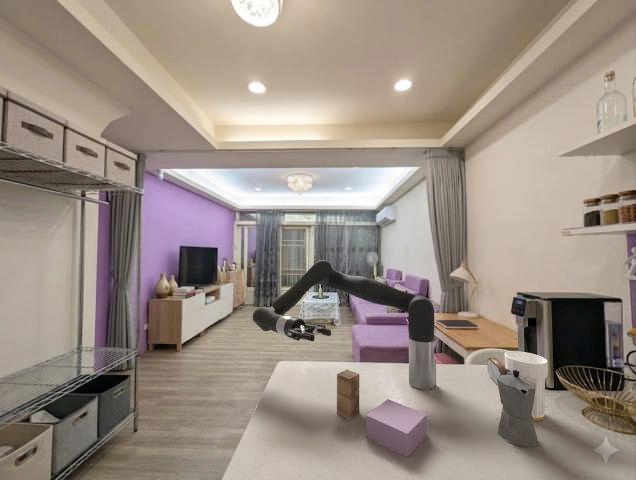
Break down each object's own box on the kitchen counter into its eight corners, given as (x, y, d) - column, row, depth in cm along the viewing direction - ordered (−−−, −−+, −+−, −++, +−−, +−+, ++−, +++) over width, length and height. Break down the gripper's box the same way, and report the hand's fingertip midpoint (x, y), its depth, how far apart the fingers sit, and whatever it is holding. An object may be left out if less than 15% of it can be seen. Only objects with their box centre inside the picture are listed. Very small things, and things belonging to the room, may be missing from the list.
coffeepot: (548, 456, 72) (546, 383, 73) (505, 448, 75) (503, 377, 76) (525, 422, 87) (523, 361, 88) (489, 416, 90) (488, 357, 90)
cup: (543, 408, 95) (542, 354, 96) (554, 426, 85) (552, 366, 85) (502, 400, 100) (501, 349, 100) (508, 417, 89) (507, 359, 90)
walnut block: (346, 406, 95) (346, 369, 95) (359, 412, 91) (359, 373, 92) (336, 413, 91) (337, 374, 91) (349, 419, 88) (349, 378, 88)
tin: (510, 392, 106) (510, 368, 106) (501, 391, 106) (500, 368, 107) (494, 375, 120) (493, 354, 121) (485, 374, 121) (485, 354, 121)
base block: (388, 419, 88) (388, 399, 89) (427, 436, 80) (426, 414, 80) (366, 437, 80) (366, 415, 80) (407, 458, 71) (407, 433, 72)
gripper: (276, 319, 105) (308, 328, 94) (304, 314, 116) (335, 321, 105) (275, 340, 105) (307, 351, 94) (303, 333, 116) (335, 342, 105)
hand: (322, 335), depth 99 cm, fingers open, 8 cm apart
